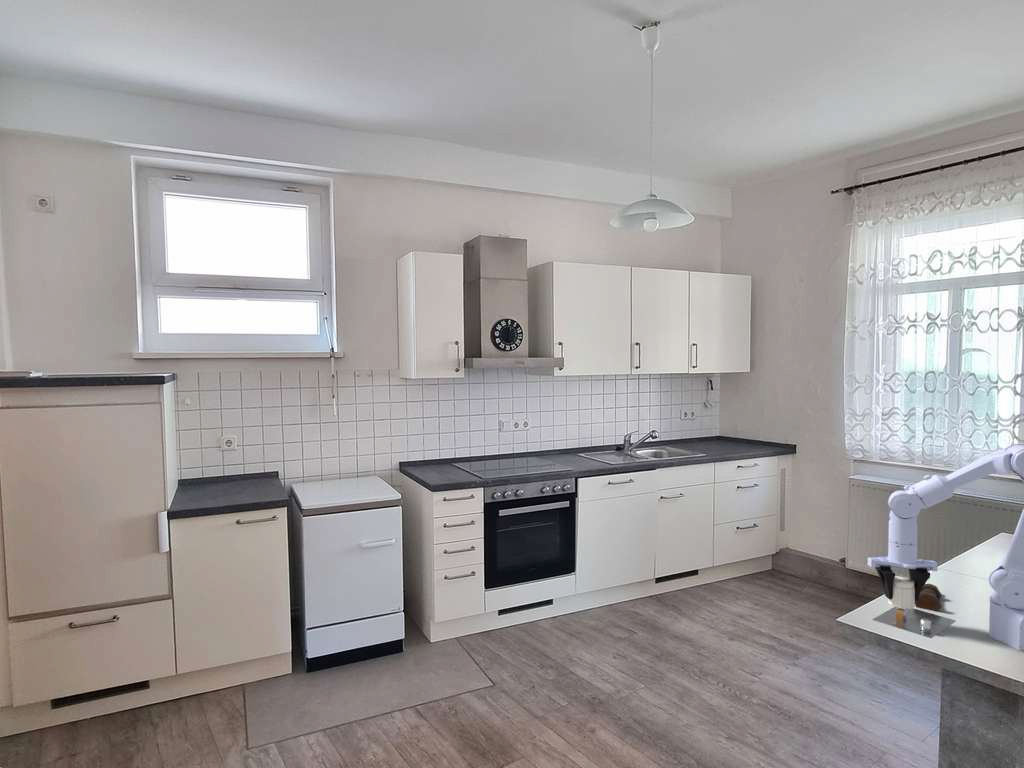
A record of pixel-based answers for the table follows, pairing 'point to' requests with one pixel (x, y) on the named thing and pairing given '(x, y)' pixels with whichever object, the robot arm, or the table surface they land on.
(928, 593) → the bolt
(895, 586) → the knob
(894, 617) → the plate
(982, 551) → the table surface
